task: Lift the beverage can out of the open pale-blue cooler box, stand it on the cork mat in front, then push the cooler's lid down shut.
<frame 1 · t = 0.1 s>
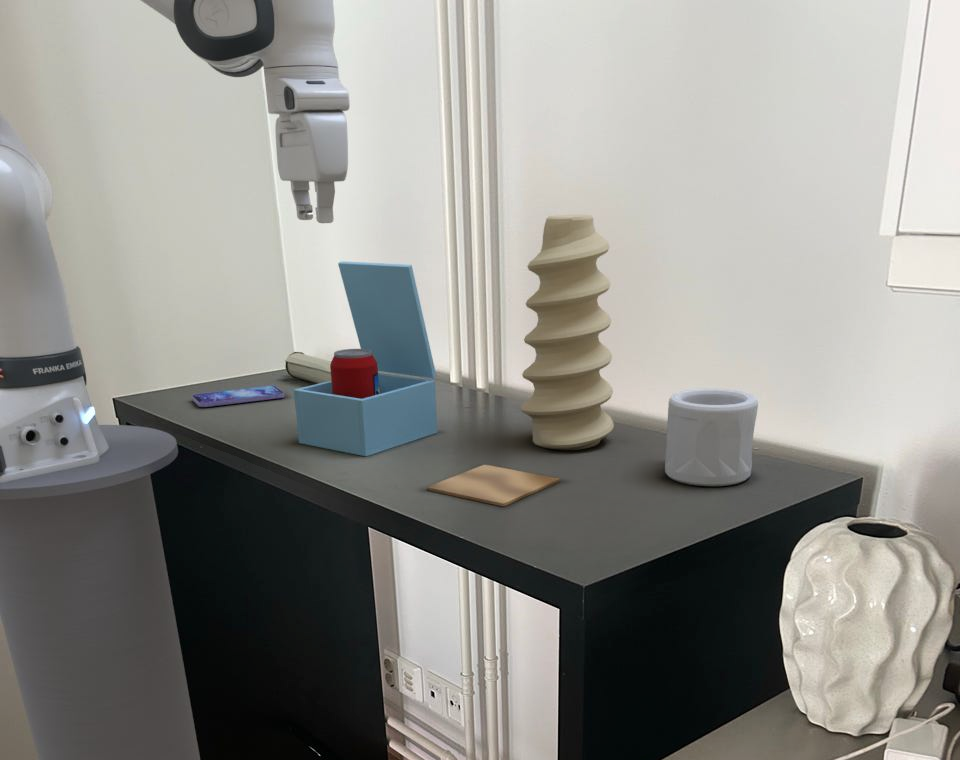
hand: (315, 221, 125), 30 cm above the table, tool pointing down, fingers open, 8 cm apart
cooler: (369, 437, 148), on the table
mug: (699, 474, 128), on the table
smartphone: (238, 400, 174), on the table
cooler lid: (387, 320, 145), point 16 cm above the table, hinge at 75.0°
cork mat: (493, 485, 125), on the table
decorative object: (566, 442, 143), on the table
beverage can: (359, 436, 146), point 1 cm above the table, touching cooler
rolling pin: (328, 389, 181), on the table
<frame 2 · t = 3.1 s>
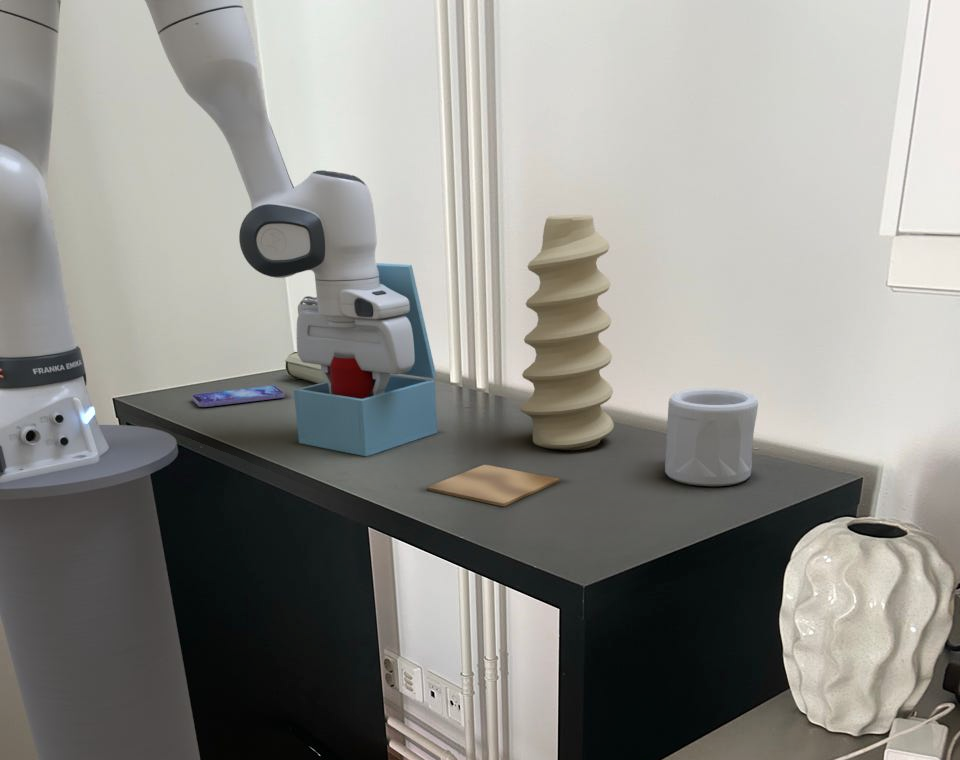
hand: (357, 399, 144), 6 cm above the table, tool pointing down, fingers closed on beverage can, 7 cm apart
beverage can: (359, 436, 146), point 1 cm above the table, touching cooler, gripper
everything else where it was.
when the fingers open (6 cm above the table, at t = 12.9 s): beverage can stays where it is, resting on cork mat.
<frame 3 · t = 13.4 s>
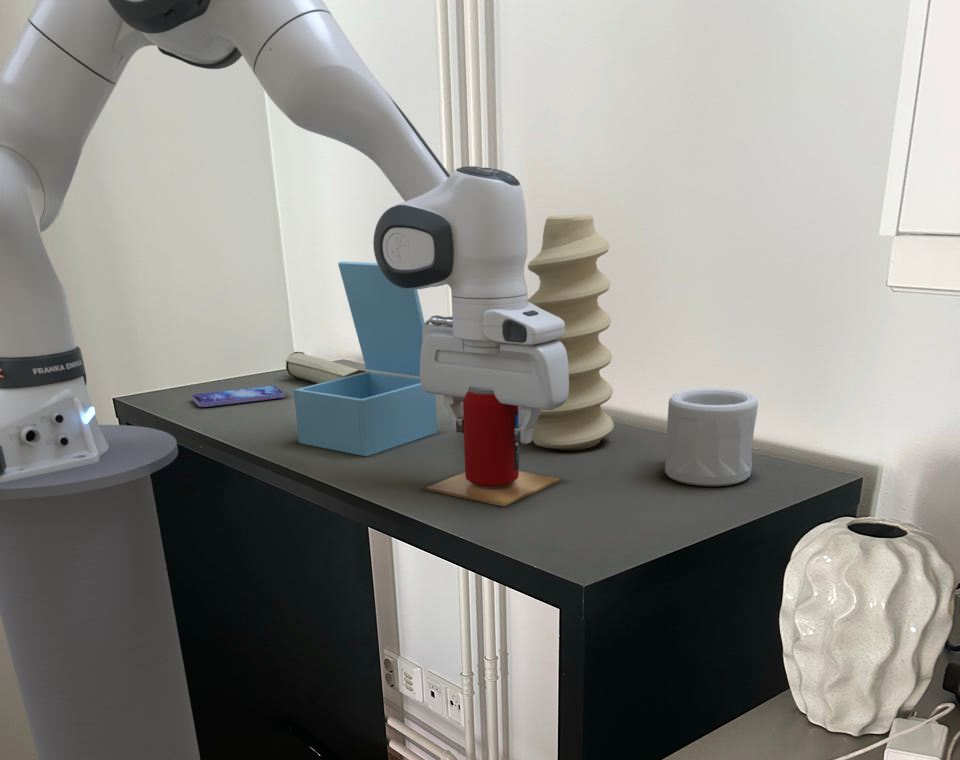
hand: (492, 436, 122), 6 cm above the table, tool pointing down, fingers open, 8 cm apart
beverage can: (492, 484, 125), resting on cork mat
everything else where it was.
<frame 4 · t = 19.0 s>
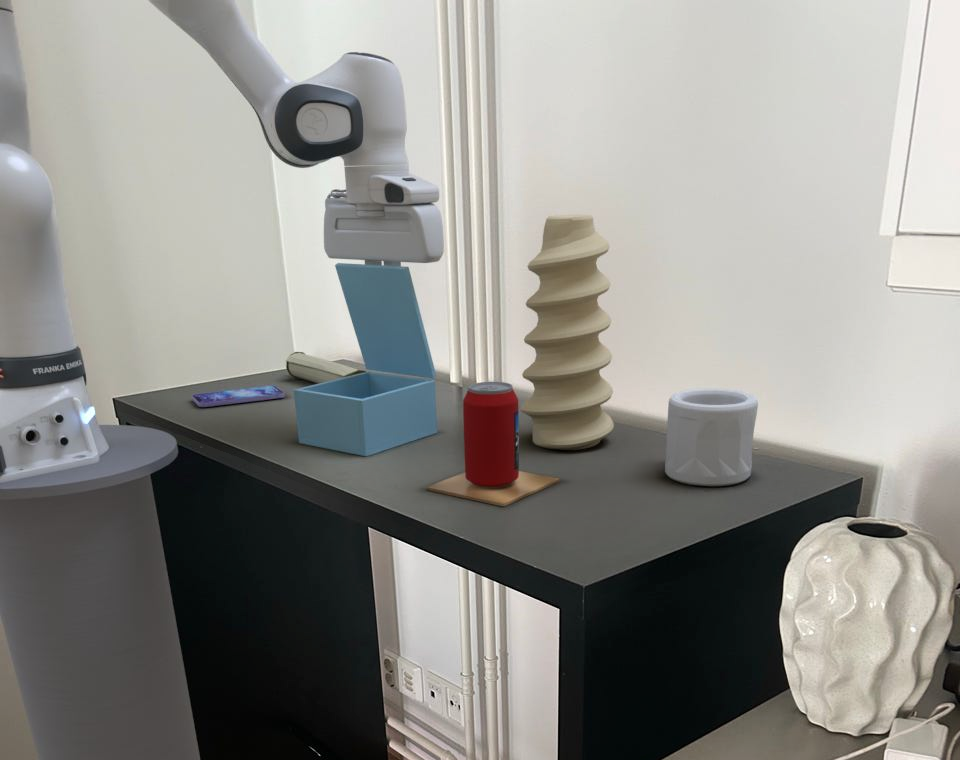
hand: (384, 294, 143), 20 cm above the table, tool pointing down, fingers closed, pressing on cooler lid
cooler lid: (386, 321, 145), point 16 cm above the table, hinge at 72.5°, touching gripper
everything else where it was.
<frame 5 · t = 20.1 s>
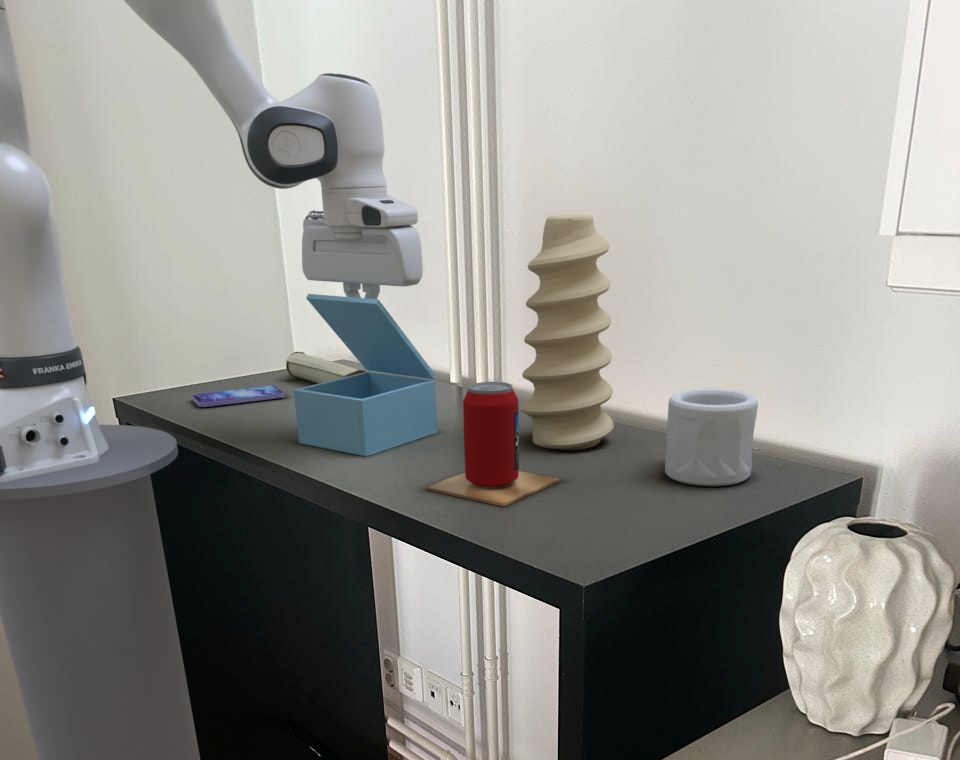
hand: (363, 316, 141), 17 cm above the table, tool pointing down, fingers closed, pressing on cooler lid
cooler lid: (372, 337, 143), point 14 cm above the table, hinge at 46.8°, touching gripper
everything else where it was.
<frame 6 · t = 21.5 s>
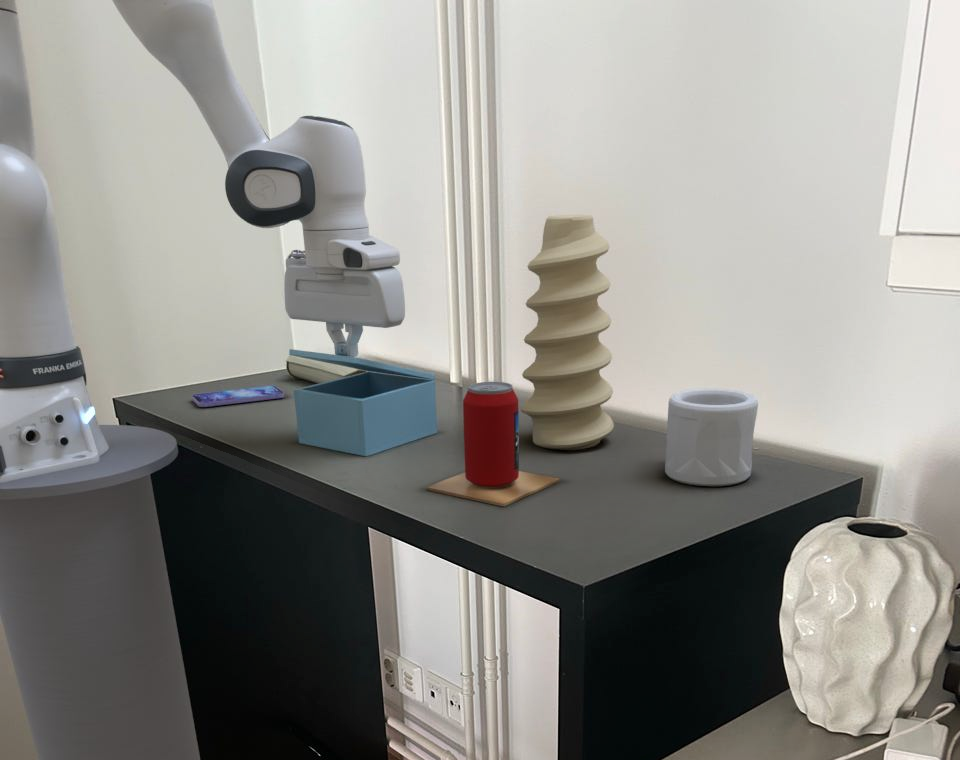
hand: (346, 356, 140), 12 cm above the table, tool pointing down, fingers closed, pressing on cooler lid
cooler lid: (363, 364, 143), point 11 cm above the table, hinge at 17.3°, touching gripper
everything else where it was.
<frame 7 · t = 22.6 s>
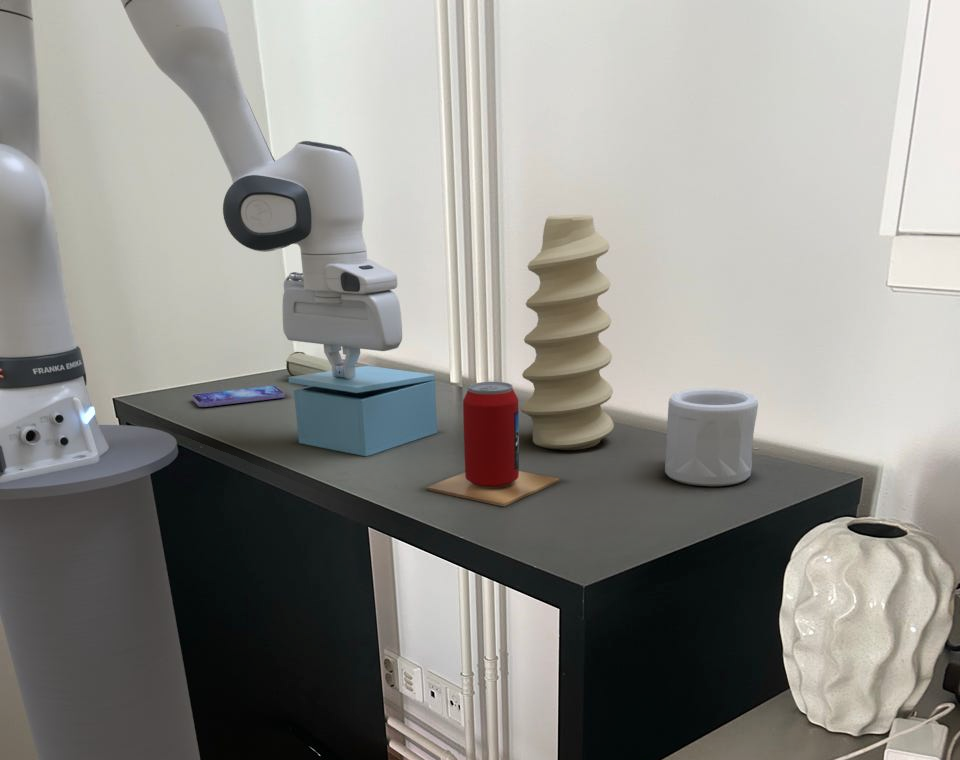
hand: (344, 377, 141), 10 cm above the table, tool pointing down, fingers closed, pressing on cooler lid
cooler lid: (362, 378, 144), point 9 cm above the table, hinge at 3.8°, touching gripper
everything else where it was.
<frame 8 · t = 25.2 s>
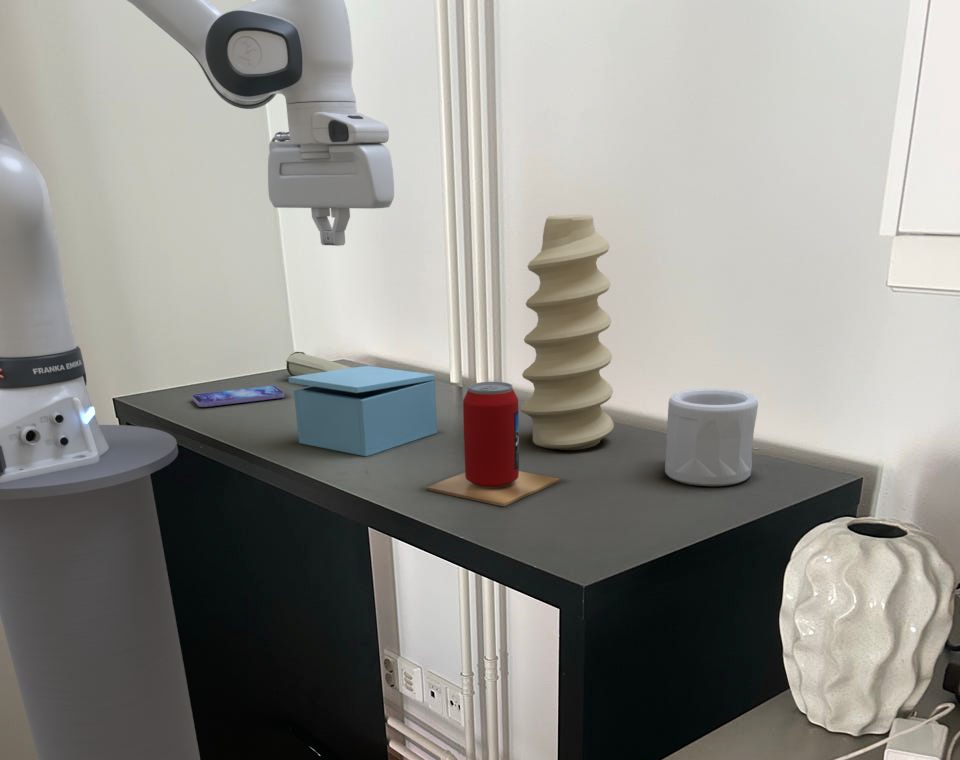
hand: (333, 245, 133), 27 cm above the table, tool pointing down, fingers closed
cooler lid: (362, 378, 144), point 9 cm above the table, hinge at 3.8°
everything else where it was.
at the end: beverage can inside the target area on the cork mat (0.2 cm from its centre), point 0.2 cm above the cork mat's base; beverage can tilted 0°; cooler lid at +4° (first picture: +75°) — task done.
